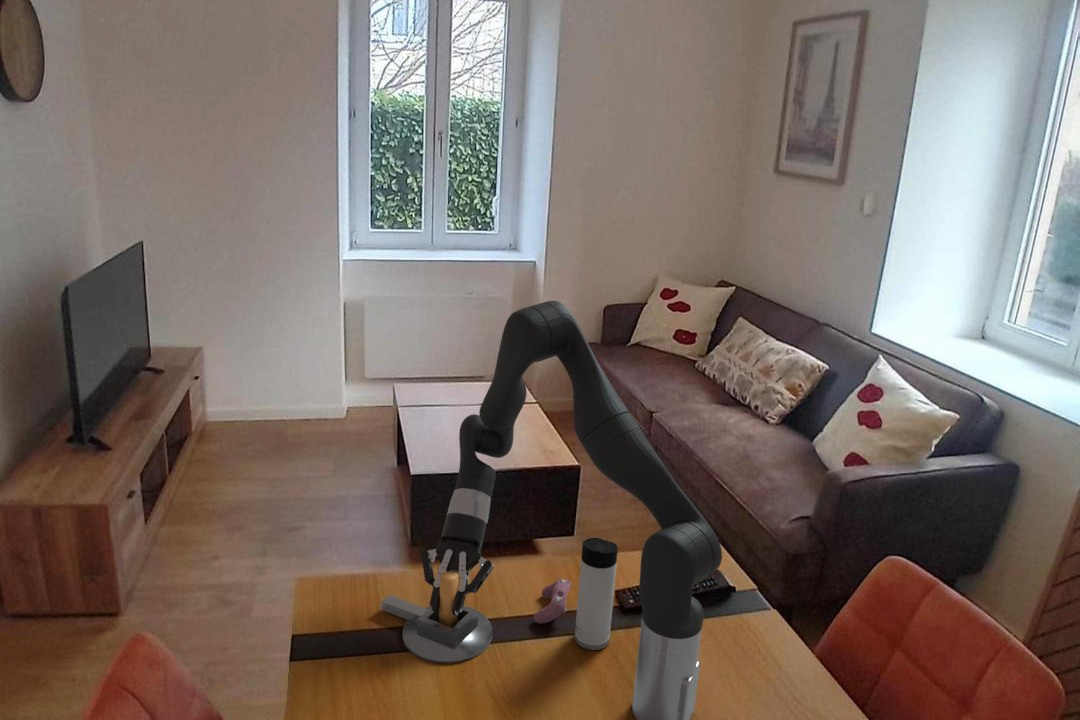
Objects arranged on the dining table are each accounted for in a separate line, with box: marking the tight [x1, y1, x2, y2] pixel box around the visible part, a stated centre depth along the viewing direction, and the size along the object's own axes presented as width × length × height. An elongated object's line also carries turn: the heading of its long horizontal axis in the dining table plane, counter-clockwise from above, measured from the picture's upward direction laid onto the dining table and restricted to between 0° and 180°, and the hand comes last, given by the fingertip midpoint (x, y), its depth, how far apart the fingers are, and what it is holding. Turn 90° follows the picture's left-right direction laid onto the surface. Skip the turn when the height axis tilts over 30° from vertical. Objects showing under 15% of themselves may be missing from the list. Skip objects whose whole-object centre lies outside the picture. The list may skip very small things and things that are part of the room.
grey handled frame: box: [380, 594, 493, 664], centre depth 148 cm, size 22×16×4 cm
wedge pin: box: [439, 571, 459, 628], centre depth 146 cm, size 3×3×10 cm
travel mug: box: [574, 537, 619, 651], centre depth 145 cm, size 6×7×20 cm
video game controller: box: [533, 577, 572, 624], centre depth 155 cm, size 10×5×7 cm, turn 170°
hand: (444, 612), depth 144 cm, fingers closed on wedge pin, 3 cm apart
